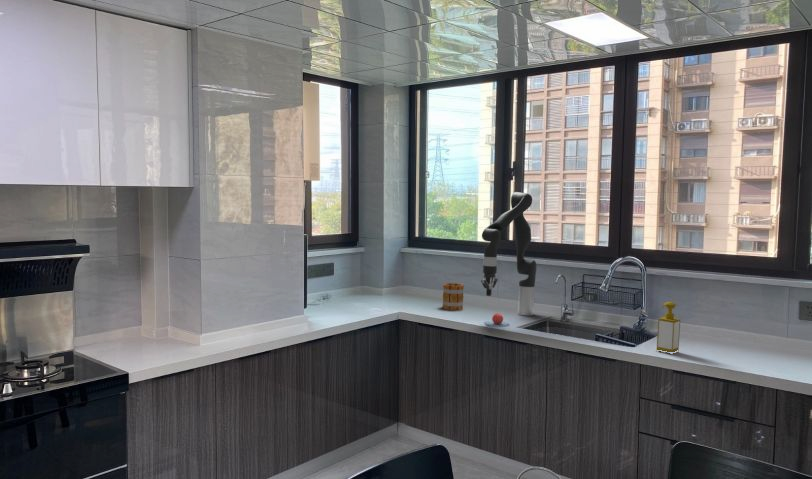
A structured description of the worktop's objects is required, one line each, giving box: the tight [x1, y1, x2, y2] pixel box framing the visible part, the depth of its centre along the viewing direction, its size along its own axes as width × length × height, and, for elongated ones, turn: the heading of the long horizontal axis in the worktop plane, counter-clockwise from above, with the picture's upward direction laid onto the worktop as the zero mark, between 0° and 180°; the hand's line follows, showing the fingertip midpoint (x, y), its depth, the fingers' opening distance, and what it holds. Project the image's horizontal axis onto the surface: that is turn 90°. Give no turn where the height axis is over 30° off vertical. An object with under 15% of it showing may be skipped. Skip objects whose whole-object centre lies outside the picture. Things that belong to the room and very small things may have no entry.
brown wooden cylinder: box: [441, 282, 465, 311], centre depth 382 cm, size 20×14×15 cm
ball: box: [491, 313, 504, 324], centre depth 335 cm, size 6×6×6 cm
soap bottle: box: [656, 301, 681, 352], centre depth 281 cm, size 7×13×24 cm, turn 134°
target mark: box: [483, 320, 510, 328], centre depth 335 cm, size 14×14×1 cm
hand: (488, 295), depth 338 cm, fingers closed
